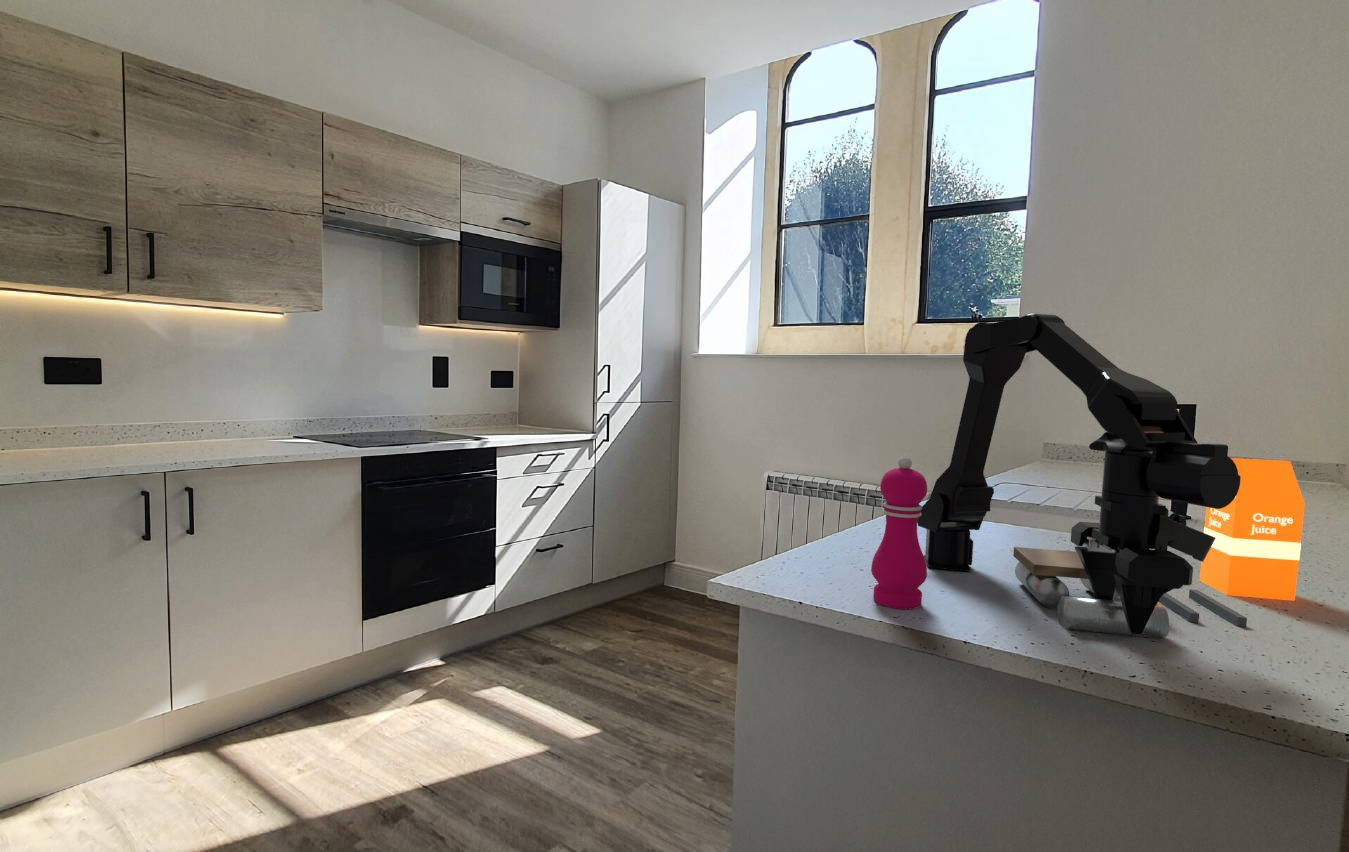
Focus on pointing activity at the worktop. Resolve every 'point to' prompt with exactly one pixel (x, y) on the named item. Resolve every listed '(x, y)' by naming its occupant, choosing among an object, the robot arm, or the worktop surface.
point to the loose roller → (1107, 617)
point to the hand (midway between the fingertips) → (1119, 620)
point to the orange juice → (1257, 534)
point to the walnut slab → (1051, 562)
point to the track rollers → (1049, 586)
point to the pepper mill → (900, 540)
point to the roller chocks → (1206, 602)
